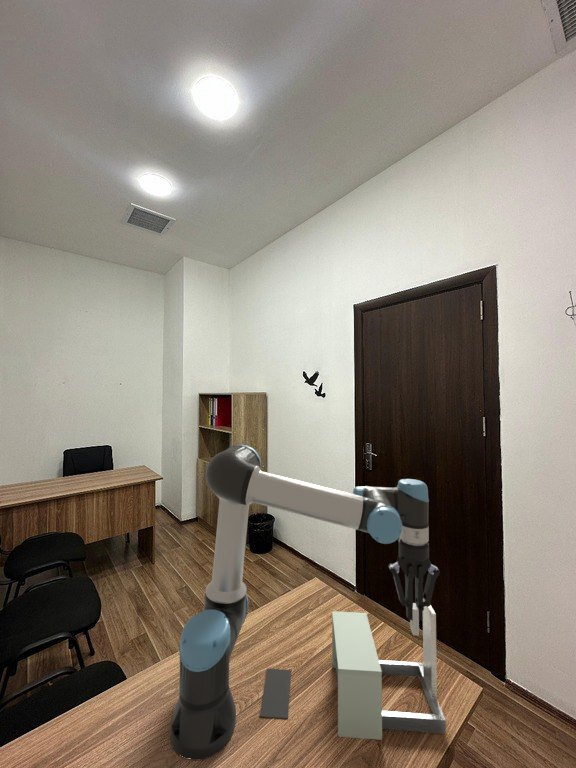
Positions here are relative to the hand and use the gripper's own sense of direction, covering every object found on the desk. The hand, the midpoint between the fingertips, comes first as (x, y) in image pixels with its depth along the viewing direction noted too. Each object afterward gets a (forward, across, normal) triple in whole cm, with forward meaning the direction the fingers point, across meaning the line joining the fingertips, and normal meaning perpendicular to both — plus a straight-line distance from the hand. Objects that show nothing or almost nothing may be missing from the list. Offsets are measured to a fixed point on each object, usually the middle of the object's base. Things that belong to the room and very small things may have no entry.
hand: (414, 631), depth 84 cm
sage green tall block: (+18, -16, 0) cm, 24 cm away
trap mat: (+18, -36, 0) cm, 40 cm away
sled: (+18, -8, 0) cm, 19 cm away
